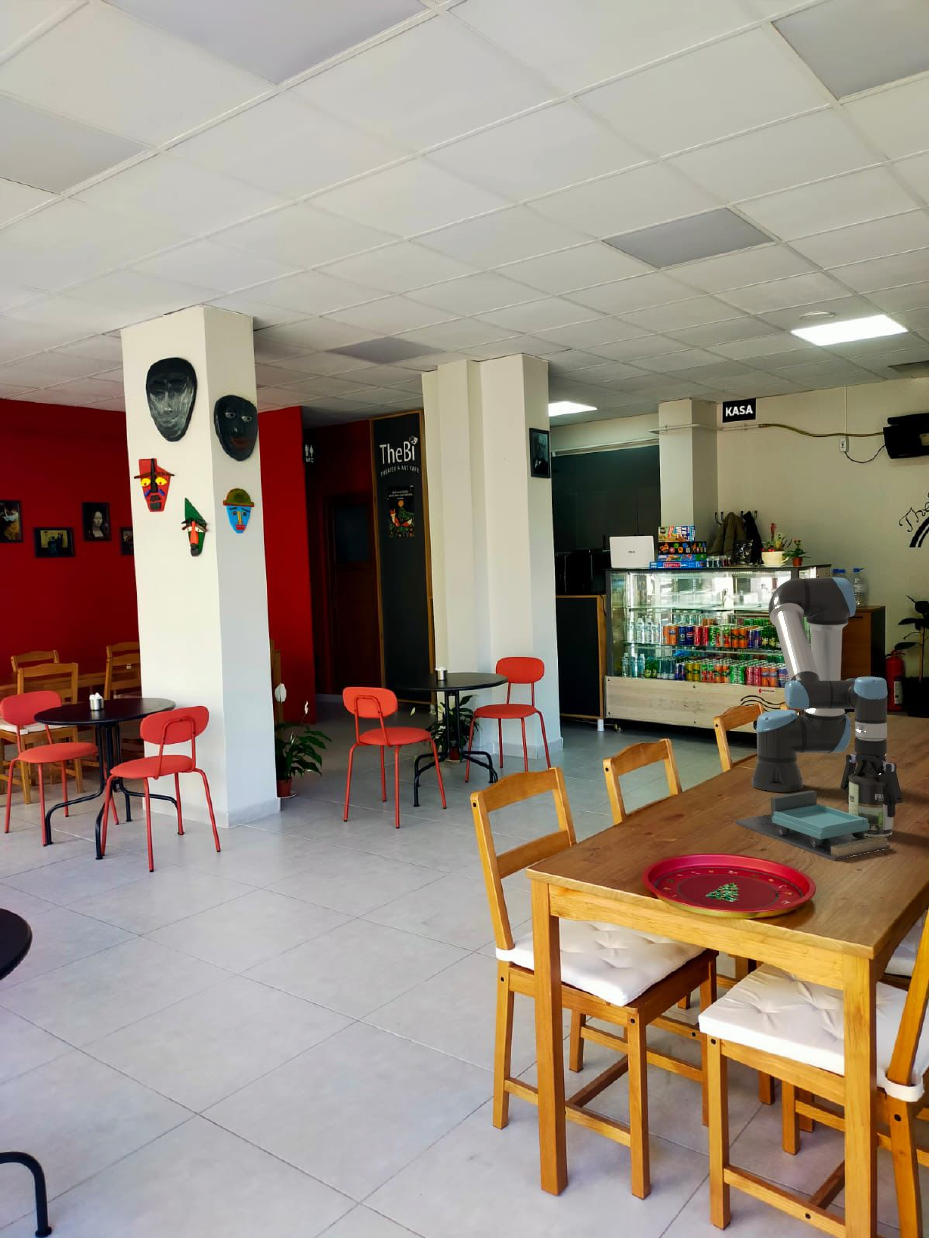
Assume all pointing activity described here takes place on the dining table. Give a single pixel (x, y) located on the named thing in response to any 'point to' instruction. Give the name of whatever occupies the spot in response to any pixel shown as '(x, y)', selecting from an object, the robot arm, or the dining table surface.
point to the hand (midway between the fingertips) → (870, 823)
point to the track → (831, 846)
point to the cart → (814, 818)
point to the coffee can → (868, 802)
